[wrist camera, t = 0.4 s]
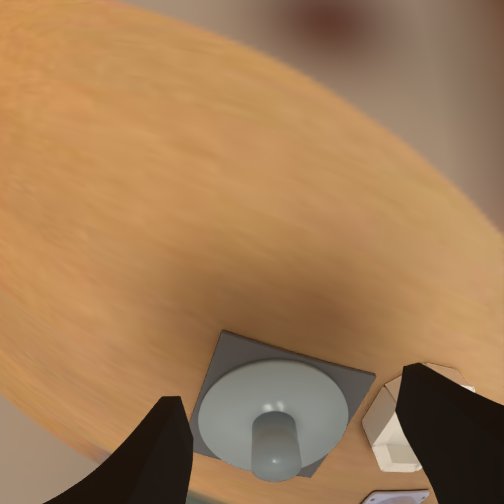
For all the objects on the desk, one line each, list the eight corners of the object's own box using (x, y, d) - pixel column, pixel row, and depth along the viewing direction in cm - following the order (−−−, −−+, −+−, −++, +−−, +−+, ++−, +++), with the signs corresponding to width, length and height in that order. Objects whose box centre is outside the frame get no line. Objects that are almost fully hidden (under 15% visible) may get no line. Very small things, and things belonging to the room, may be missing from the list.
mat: (309, 474, 22) (310, 477, 22) (181, 444, 21) (180, 447, 21) (374, 373, 20) (376, 376, 20) (222, 329, 20) (221, 332, 19)
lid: (308, 475, 21) (315, 517, 17) (185, 446, 21) (173, 490, 16) (370, 379, 20) (394, 419, 15) (224, 337, 19) (215, 377, 15)
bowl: (423, 451, 22) (435, 471, 19) (345, 444, 21) (354, 469, 18) (474, 373, 20) (493, 390, 17) (399, 355, 20) (416, 375, 17)
